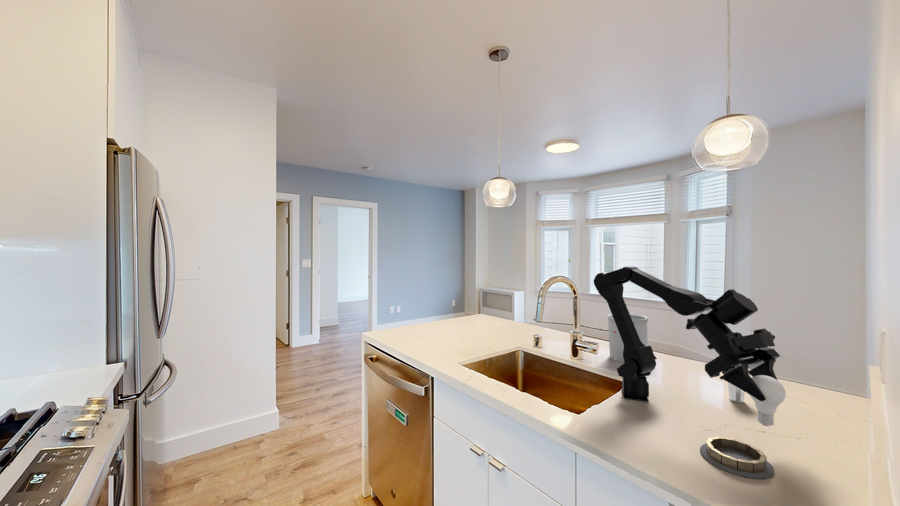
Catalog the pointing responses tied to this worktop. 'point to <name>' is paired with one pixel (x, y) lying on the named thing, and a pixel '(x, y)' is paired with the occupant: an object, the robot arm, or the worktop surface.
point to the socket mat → (738, 455)
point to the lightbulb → (768, 398)
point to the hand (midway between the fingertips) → (773, 398)
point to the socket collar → (733, 463)
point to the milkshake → (736, 393)
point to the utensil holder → (615, 338)
